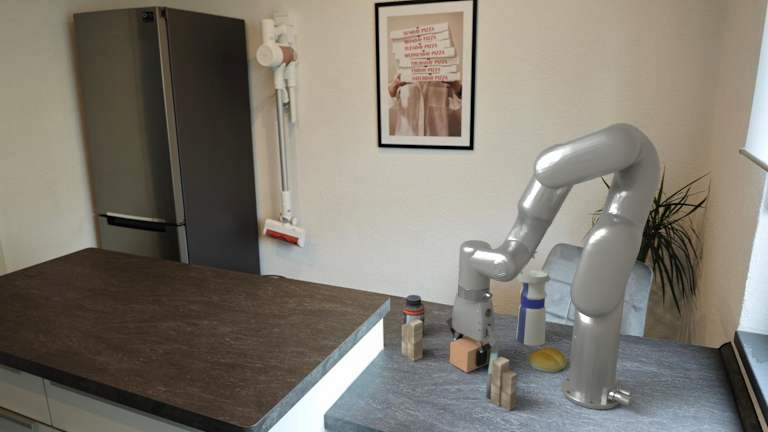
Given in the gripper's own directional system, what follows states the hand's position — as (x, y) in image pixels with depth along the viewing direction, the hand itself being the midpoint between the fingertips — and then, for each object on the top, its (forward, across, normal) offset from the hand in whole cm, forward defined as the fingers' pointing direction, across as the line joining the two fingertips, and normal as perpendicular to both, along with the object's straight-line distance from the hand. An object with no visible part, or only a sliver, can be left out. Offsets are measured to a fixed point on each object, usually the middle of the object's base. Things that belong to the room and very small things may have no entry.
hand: (470, 358), depth 133 cm
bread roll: (+2, -13, -15) cm, 19 cm away
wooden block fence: (+2, -2, +8) cm, 8 cm away
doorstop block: (+1, 0, 0) cm, 1 cm away
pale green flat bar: (+1, -7, -1) cm, 7 cm away
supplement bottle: (+2, +21, -1) cm, 21 cm away
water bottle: (+2, -2, -23) cm, 23 cm away
